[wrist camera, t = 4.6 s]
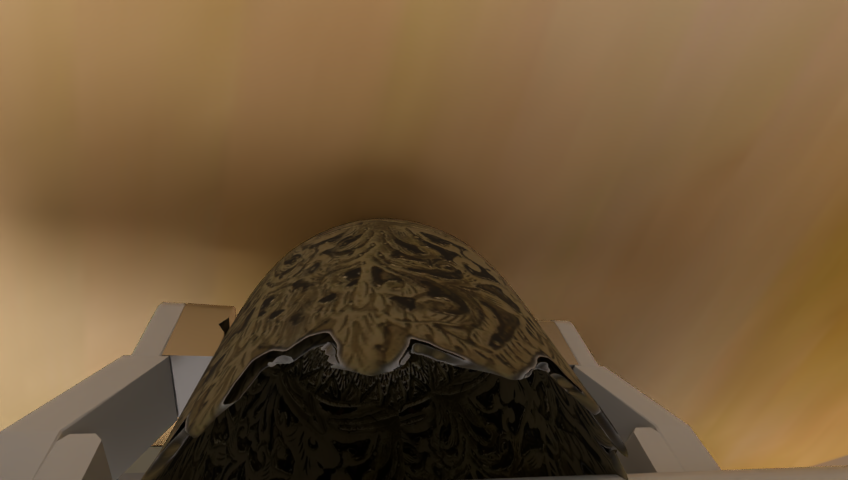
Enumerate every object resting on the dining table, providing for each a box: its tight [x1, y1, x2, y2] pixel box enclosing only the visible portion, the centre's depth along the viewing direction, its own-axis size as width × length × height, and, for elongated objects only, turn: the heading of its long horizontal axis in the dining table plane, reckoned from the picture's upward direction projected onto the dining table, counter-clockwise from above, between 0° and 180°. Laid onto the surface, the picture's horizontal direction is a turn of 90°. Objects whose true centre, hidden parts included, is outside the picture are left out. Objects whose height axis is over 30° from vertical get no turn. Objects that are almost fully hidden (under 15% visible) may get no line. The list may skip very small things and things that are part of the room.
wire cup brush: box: [141, 219, 628, 480], centre depth 10 cm, size 8×7×8 cm
